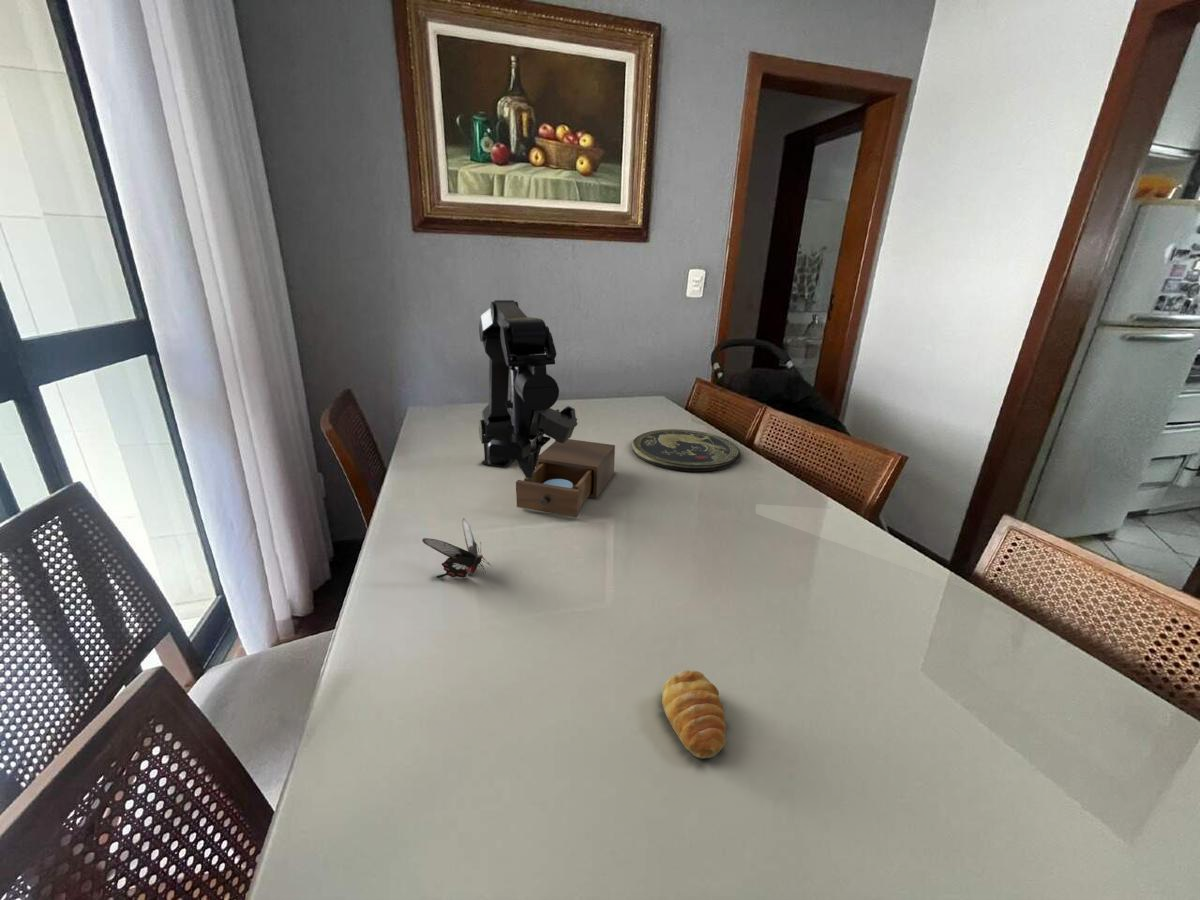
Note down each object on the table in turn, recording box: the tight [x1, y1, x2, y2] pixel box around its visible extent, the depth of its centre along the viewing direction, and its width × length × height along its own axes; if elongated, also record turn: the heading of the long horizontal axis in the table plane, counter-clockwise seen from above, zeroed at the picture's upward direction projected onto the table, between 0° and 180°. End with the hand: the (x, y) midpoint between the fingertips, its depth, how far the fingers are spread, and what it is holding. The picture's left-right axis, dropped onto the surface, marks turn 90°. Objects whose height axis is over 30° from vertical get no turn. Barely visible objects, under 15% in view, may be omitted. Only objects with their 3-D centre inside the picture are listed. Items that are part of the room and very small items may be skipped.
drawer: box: [515, 462, 594, 518], centre depth 104 cm, size 15×13×6 cm
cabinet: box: [535, 438, 616, 499], centre depth 115 cm, size 15×15×8 cm
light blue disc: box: [543, 479, 573, 488], centre depth 105 cm, size 7×7×2 cm
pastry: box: [661, 670, 727, 759], centre depth 55 cm, size 9×7×4 cm
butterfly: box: [421, 517, 491, 579], centre depth 79 cm, size 11×8×10 cm
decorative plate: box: [631, 428, 741, 472], centre depth 136 cm, size 30×2×30 cm
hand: (529, 477), depth 89 cm, fingers closed
